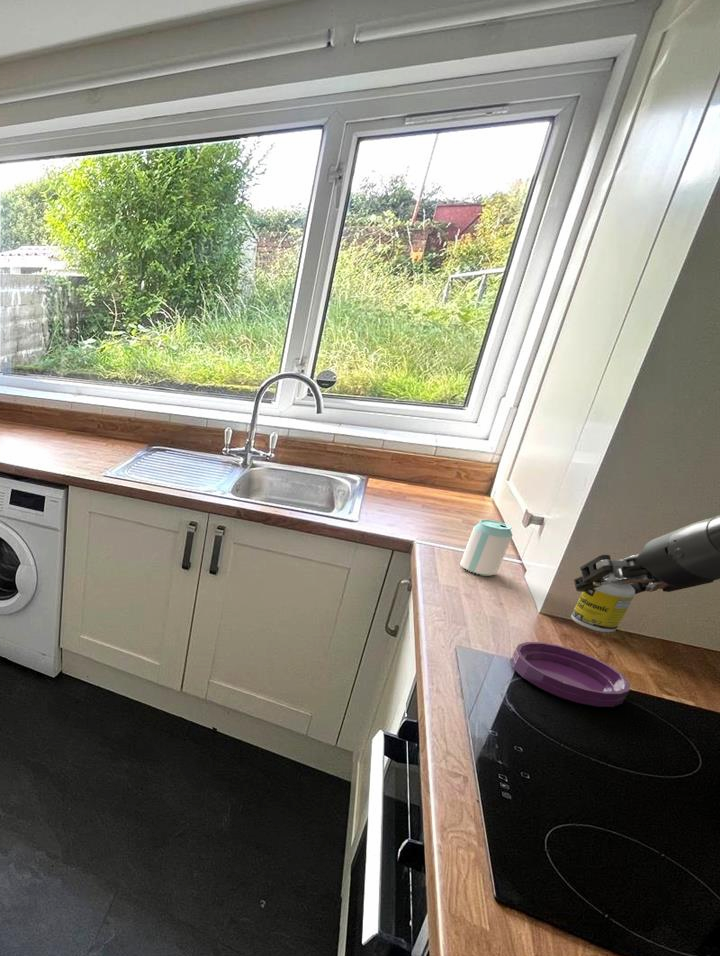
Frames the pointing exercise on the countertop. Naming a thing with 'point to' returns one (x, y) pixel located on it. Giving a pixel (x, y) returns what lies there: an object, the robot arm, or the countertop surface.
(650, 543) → the robot arm
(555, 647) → the dish
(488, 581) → the countertop surface
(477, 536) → the can
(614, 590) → the supplement bottle
